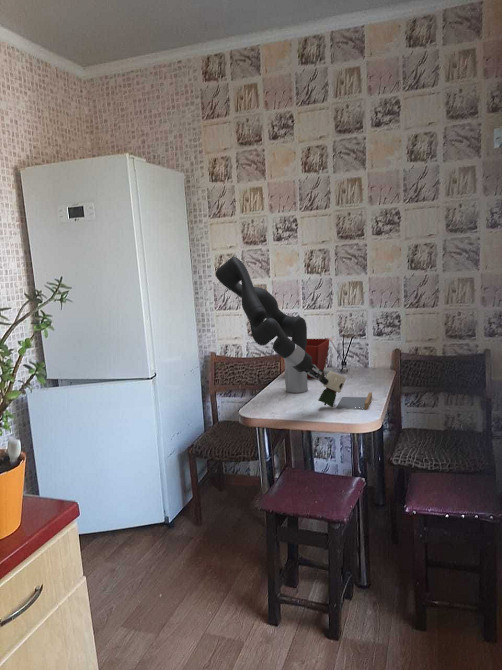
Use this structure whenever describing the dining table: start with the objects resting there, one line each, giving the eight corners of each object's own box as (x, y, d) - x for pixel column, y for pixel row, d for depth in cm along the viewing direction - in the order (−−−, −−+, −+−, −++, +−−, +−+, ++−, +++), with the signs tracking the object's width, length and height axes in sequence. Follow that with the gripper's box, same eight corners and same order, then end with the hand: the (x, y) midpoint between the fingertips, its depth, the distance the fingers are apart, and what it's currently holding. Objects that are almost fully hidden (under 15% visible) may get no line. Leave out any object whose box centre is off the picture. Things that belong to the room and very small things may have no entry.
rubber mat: (335, 408, 209) (335, 402, 208) (342, 397, 224) (342, 391, 223) (367, 409, 205) (367, 403, 204) (372, 398, 220) (371, 392, 219)
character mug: (333, 409, 203) (347, 377, 204) (316, 401, 204) (329, 370, 205) (332, 408, 214) (345, 378, 214) (316, 401, 215) (328, 371, 215)
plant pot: (319, 380, 256) (317, 345, 253) (282, 378, 264) (280, 345, 262) (331, 371, 273) (330, 338, 270) (296, 370, 281) (294, 338, 279)
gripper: (282, 362, 206) (311, 387, 213) (300, 368, 194) (330, 394, 201) (293, 346, 207) (322, 371, 214) (311, 351, 195) (341, 378, 202)
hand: (326, 382), depth 208 cm, fingers closed
